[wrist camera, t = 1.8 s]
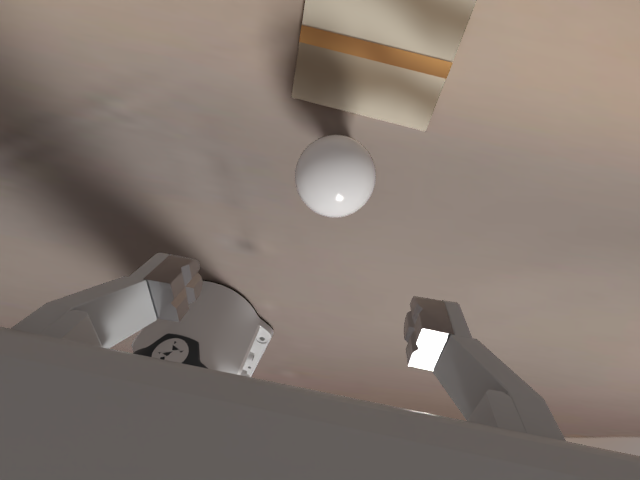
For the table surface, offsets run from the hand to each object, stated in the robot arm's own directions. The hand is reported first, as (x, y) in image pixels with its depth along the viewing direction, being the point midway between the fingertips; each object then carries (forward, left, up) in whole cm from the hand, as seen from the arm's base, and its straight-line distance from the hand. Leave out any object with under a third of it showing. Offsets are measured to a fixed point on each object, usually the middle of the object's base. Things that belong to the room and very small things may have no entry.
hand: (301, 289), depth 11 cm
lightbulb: (0, 0, -22) cm, 22 cm away
